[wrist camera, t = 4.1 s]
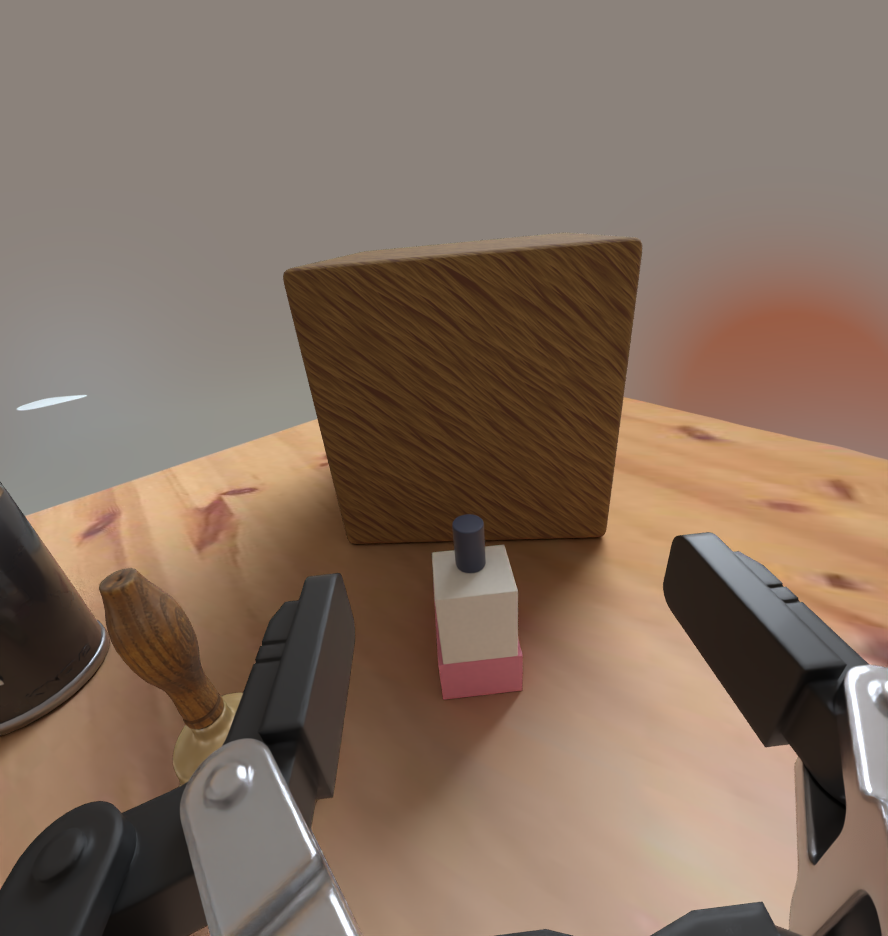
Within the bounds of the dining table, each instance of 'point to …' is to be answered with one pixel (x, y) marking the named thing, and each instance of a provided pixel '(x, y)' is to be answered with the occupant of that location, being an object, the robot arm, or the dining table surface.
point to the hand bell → (167, 663)
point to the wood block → (470, 382)
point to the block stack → (476, 615)
